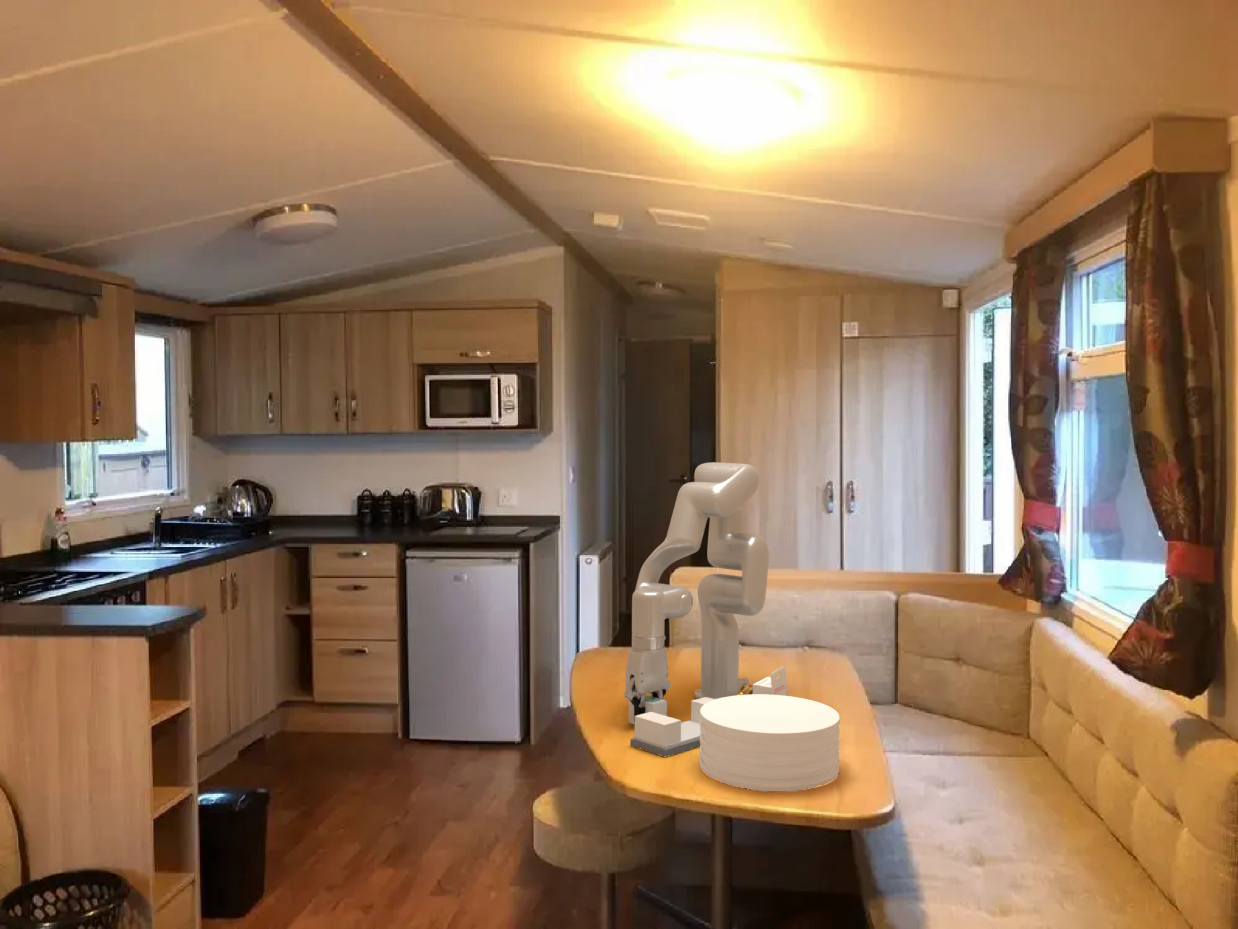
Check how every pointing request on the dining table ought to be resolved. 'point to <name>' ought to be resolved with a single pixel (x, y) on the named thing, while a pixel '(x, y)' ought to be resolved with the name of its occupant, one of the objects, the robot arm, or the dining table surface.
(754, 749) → the plate stack
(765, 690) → the ink cartridge box
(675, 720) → the rail board
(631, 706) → the block
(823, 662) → the dining table surface
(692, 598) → the robot arm
